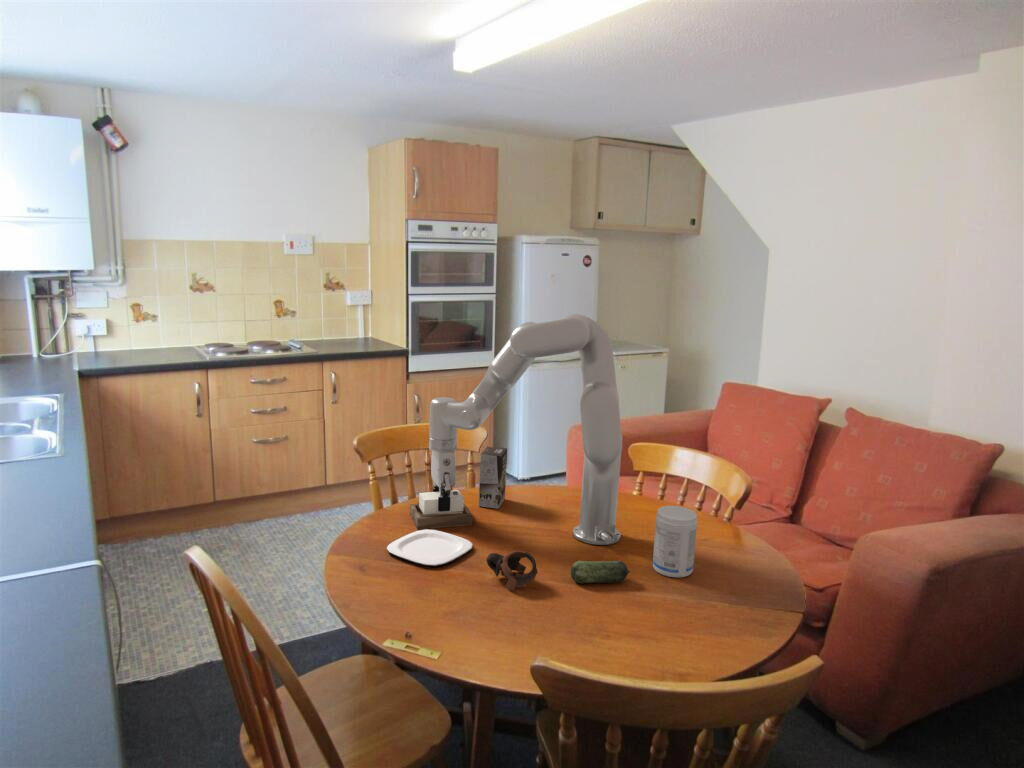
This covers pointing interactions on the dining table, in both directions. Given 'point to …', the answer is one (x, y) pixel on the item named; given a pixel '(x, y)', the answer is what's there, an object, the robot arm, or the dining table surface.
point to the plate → (430, 547)
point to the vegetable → (599, 571)
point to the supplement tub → (674, 541)
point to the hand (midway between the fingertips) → (441, 505)
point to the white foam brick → (430, 502)
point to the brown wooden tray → (440, 518)
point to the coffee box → (492, 477)
